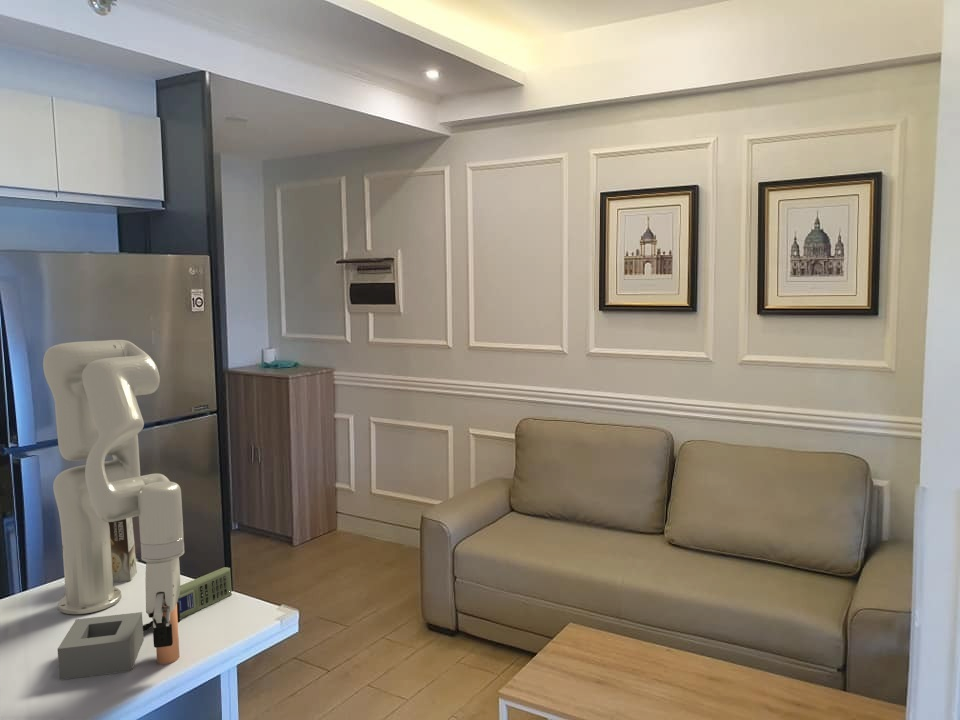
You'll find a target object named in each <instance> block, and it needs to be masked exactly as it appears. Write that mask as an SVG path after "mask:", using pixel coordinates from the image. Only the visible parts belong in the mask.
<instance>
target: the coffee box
mask: <svg viewBox="0 0 960 720" xmlns="http://www.w3.org/2000/svg"><path fill="white" fill-rule="evenodd" d="M108 523H109V527H110V540H111V557H112V573H113V583H116V582H118V583H119V582H130V581H132V579H133V578H134V577H135V575H136V574H137V572H138V569H137V560H136V559H137V557H136V545H135V529H134V517H132V518H128V519H123V520H119V521H114V522H108Z"/></svg>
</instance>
